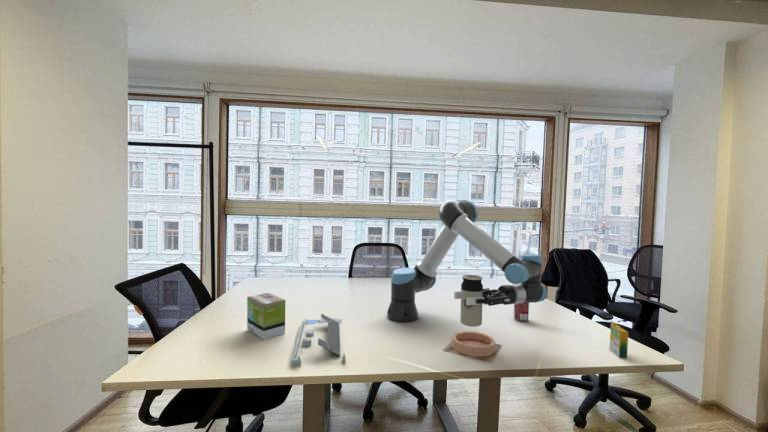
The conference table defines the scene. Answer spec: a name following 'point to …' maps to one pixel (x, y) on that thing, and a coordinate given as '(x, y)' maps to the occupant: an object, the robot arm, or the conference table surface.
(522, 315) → the soda can
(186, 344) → the conference table surface
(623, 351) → the crayon box
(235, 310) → the conference table surface
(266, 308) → the tea box
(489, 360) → the cork mat
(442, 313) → the conference table surface
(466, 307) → the travel mug
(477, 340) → the bowl
